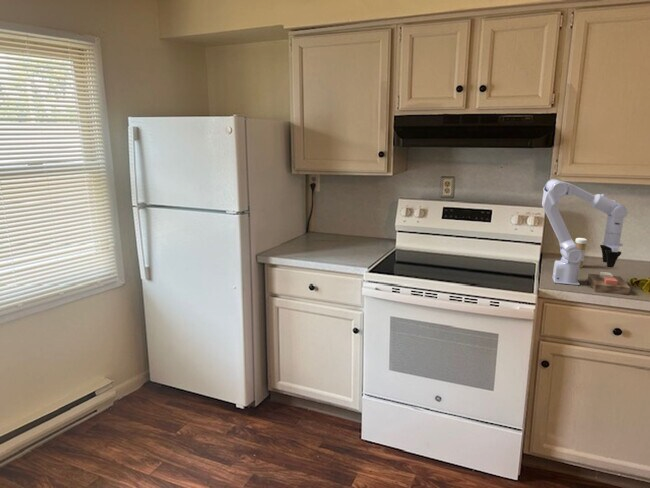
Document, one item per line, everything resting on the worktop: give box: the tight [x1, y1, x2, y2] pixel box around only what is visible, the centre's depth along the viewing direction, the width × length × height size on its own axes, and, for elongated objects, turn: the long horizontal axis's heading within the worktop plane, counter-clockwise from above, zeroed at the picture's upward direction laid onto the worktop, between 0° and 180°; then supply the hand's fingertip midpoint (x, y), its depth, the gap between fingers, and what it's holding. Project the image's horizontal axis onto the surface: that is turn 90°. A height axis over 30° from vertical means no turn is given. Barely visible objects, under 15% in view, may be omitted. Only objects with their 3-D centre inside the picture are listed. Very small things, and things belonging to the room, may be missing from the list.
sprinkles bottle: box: [574, 237, 588, 269], centre depth 224 cm, size 5×5×13 cm
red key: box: [603, 277, 618, 285], centre depth 194 cm, size 4×4×2 cm
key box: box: [587, 273, 631, 296], centre depth 197 cm, size 12×15×3 cm
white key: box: [599, 271, 614, 278], centre depth 201 cm, size 4×4×2 cm
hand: (607, 264), depth 200 cm, fingers open, 7 cm apart
